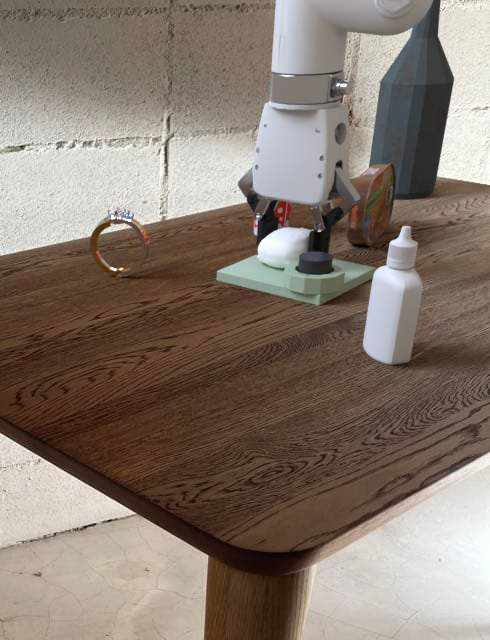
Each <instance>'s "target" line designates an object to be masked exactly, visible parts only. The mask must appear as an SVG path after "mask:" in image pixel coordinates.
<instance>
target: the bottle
mask: <svg viewBox="0 0 490 640" xmlns="http://www.w3.org/2000/svg"><path fill="white" fill-rule="evenodd" d="M440 15H441V0H433V2H432V5H431V7H430V9H429V10H428V12H427V14H426V15H425V16H424V18H423V19H422V20H421V21H420V22H419V23H418V24H417V25H415V26H414V27H413V28H411V33H410V36H409V38H408V40H407V41H406V42H405V44H404V46H403V47H402V49H401V50H400V52H399V53H398V55H397V56H396V57H395V59H394V60H393V62H392V63H391V65H390V67H389V68H388V69H387V71H386V73H384V75H383V76H382V78H381V80H380V83H379V89H378V97H377V105H376V110H375V111H376V112H375V119H374V126H373V133H372V141H371V147H370V156H369V161H368V168H369V167H371V166H372V165H376V164H390V163H392V164H393V165H394V168H395V174H396V185H395V197H394V200H412V199H420V198H426V197H429V196H430V195H431V194H432V193H433V192H434V190H435V188H436V183H437V178H438V172H439V167H440V161H441V156H442V150H443V145H444V139H445V133H446V127H447V122H448V115H449V111H450V105H451V99H452V95H453V94H452V93H453V89H454V84H455V77H454V74H453V71H452V69H451V66H450V63H449V61H448V58H447V56H446V53H445V51H444V48H443V45H442V42H441V40H440V37H439V29H440V27H439V26H440Z"/></svg>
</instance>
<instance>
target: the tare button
mask: <svg viewBox="0 0 490 640" xmlns="http://www.w3.org/2000/svg"><path fill="white" fill-rule="evenodd" d="M333 259H334V256H333V255H332V254H331V253H329V252H328V253H325V252H306V253H302V254H301V255H300V256H299V264H298V272H299V273H303V274H308V275H323V274H329V273H331V269H332V261H333Z"/></svg>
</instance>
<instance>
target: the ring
mask: <svg viewBox="0 0 490 640" xmlns="http://www.w3.org/2000/svg"><path fill="white" fill-rule="evenodd" d="M134 217H135V212H131V210H130V209H129V210H128V209H127V208H123V209H122V210H121V207H120V206H119V207H118V206H117V207H116V210H114V211H113V213H112V212H111V209H107V215H106V216H104V218H102V219H101V220H100V221H99V222H98V223H97V225H96V226H95V228H94V230H93V231H92V233H91V235H90V239H89V246H90V252H91V255H92V258H93V259H94V261H95V263H96V264H97V266H98V267H99V268H100V269H101V270H102V271H103V272H105V273H106V274H108V275H111V276H113V277H115V278H117V279H123V277H129V276H132V275H134V274H135V273H137V272H138V271H139V270H140V269H141V268H142V267H143V266H144V264H145V263H146V261H147V258H148V256H149V251H150V239H149V235H148V232H147V230H146V228H145V227H144V226H143V225H142V223H141V222H139V221H138V220H137V219H135V218H134ZM123 224H125V225H127V226H130V227H131V228H132V229H133V230H134V231H135V232H136V234H137V236H138V239H139V241H140V246H141V250H140V251H141V252H140V257H139V260H138V262H137V263H136V264H135V265H134V266H133V267H131V268H127V269H125V268H124V267H118V268H115V267H112V266H110V264H108V263H107V261H105V260H104V258H103V256H102V254H101V252H100V249H99V237H100V235H101V234H102V232H103V231H105V230H106V229H108V228H110V227H111V226H112V225H123Z"/></svg>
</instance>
